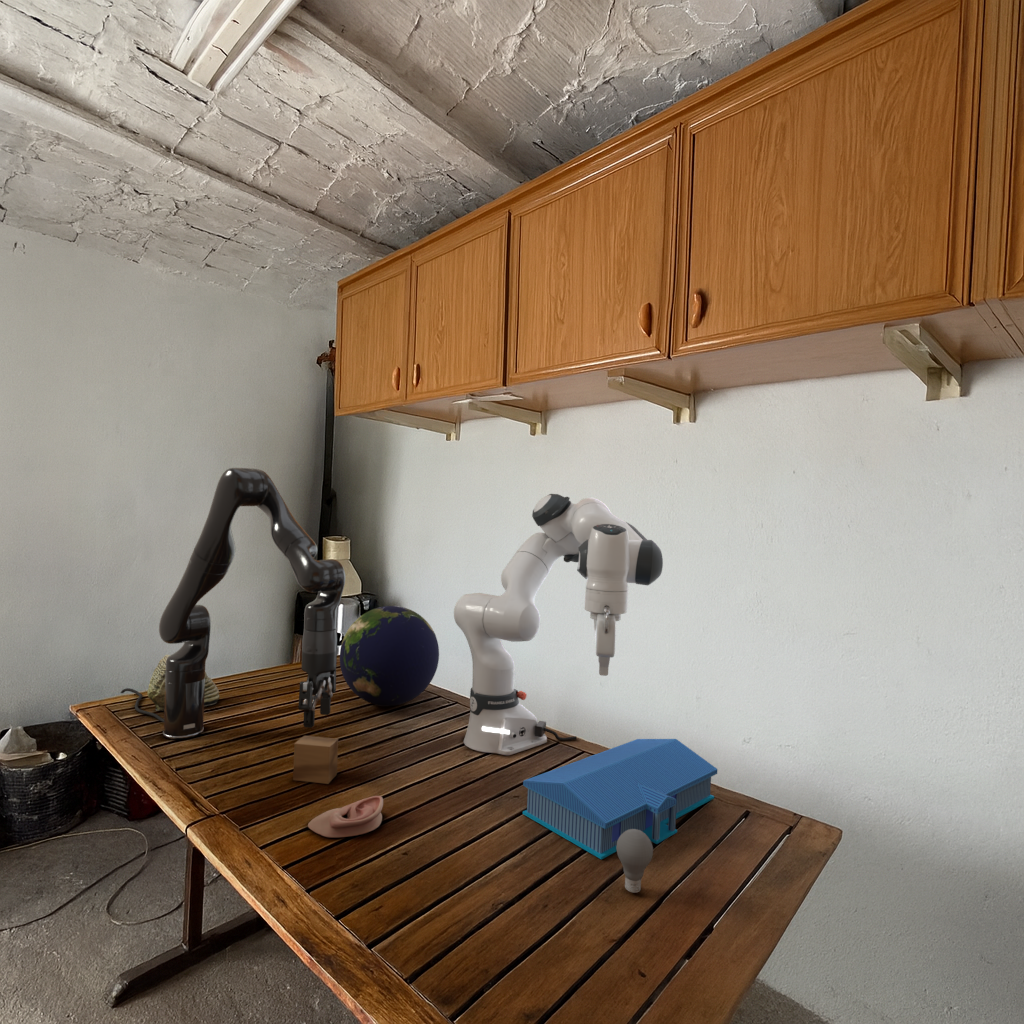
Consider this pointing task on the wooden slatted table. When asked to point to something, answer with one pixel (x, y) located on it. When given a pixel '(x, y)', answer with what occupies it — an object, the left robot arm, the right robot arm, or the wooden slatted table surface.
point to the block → (315, 759)
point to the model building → (621, 793)
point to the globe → (389, 655)
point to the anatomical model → (349, 819)
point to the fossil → (158, 687)
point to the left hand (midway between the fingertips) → (317, 720)
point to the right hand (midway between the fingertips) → (602, 668)
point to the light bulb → (634, 857)
